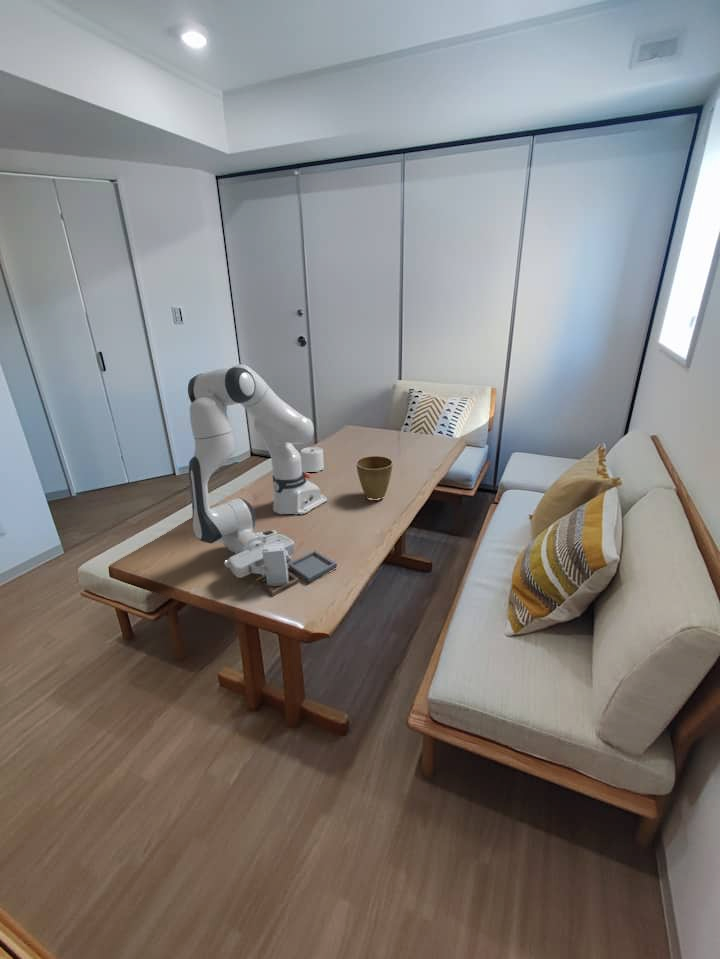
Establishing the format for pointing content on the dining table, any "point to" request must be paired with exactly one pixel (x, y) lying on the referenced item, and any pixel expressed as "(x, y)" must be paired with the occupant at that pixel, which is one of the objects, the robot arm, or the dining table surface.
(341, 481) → the dining table surface
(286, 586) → the brown wooden square frame
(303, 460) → the toilet tissue
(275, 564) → the skincare box
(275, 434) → the robot arm
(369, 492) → the plant pot
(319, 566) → the tray
